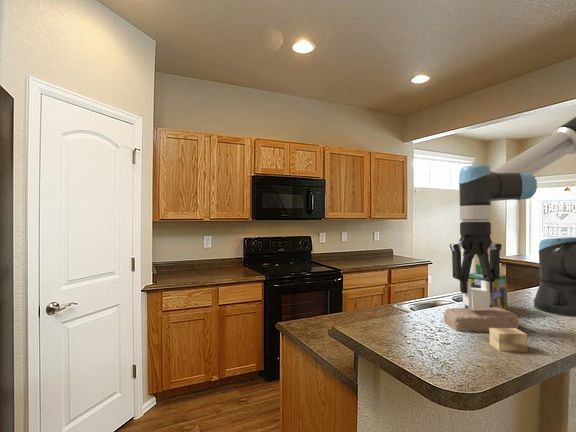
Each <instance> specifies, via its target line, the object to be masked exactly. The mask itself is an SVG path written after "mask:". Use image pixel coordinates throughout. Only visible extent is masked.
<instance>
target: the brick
mask: <svg viewBox="0 0 576 432" xmlns="http://www.w3.org/2000/svg"><path fill="white" fill-rule="evenodd" d="M518 318H519V316H518V314H516V313H514V312H512V311H509V310H504V309H500V308H496V307H489V308H479V309H466V308H465V307H464V308H463V307H458V308H445V310H444V312H443V321H444V322H443V323H444V324H445V325H447V326H448V327H449V328H450V329H452V330H453V331H455V332H489V328H516V329H518V328H519V319H518Z"/></svg>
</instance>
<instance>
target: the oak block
mask: <svg viewBox="0 0 576 432" xmlns="http://www.w3.org/2000/svg"><path fill="white" fill-rule="evenodd" d="M488 332H489V345H490V346H492V347H493V348H495V349H496V350H497V351H499V352H528V333H525V332H523V331H522V330H520V329H518V328H517V329H516V328H489V331H488Z"/></svg>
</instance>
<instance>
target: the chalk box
mask: <svg viewBox="0 0 576 432" xmlns="http://www.w3.org/2000/svg"><path fill="white" fill-rule="evenodd" d="M475 269H476V270H475V271H476V272H470V274H469V278H468V282H471V288H481V280H484V278H483V274H482V270H481V266H480V263H478V264H475ZM484 281H485V280H484ZM507 286H508V285H507V275H506V274H501V273H500V278H499V279H495V282H492V293H490V306H489V307H496V308H500V309H504V310H507V311H509V304H508V303H509V302H508V287H507ZM464 308H466V309H479V308H471V307H469V306H467V305H465V304H464Z"/></svg>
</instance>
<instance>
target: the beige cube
mask: <svg viewBox="0 0 576 432" xmlns="http://www.w3.org/2000/svg"><path fill="white" fill-rule="evenodd" d="M469 307H471V308H489V291H486V290H484V289H481V288H471V306H469Z"/></svg>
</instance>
